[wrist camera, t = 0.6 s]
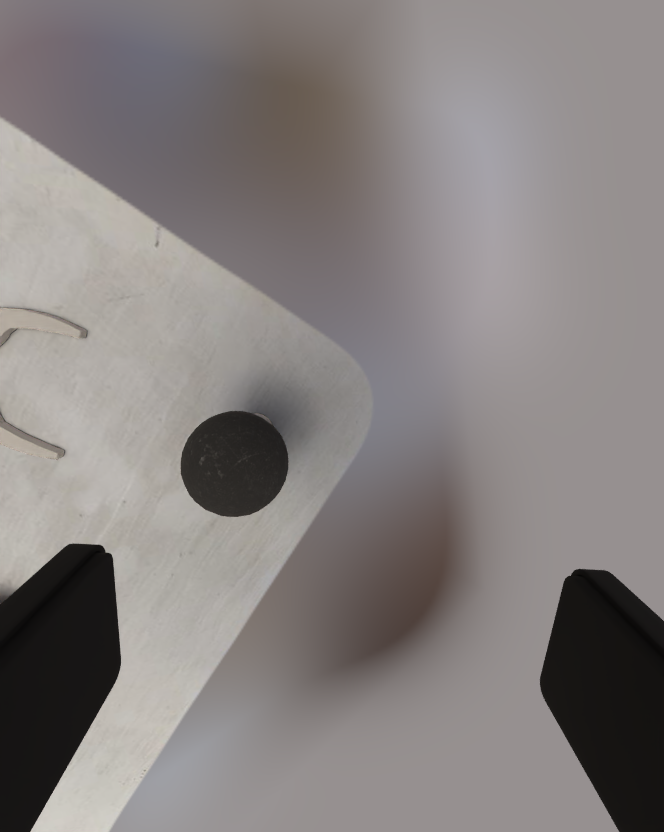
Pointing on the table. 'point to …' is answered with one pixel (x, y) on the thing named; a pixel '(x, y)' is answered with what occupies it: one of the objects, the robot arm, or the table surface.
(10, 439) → the pliers
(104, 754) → the table surface
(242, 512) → the light bulb
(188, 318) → the table surface
